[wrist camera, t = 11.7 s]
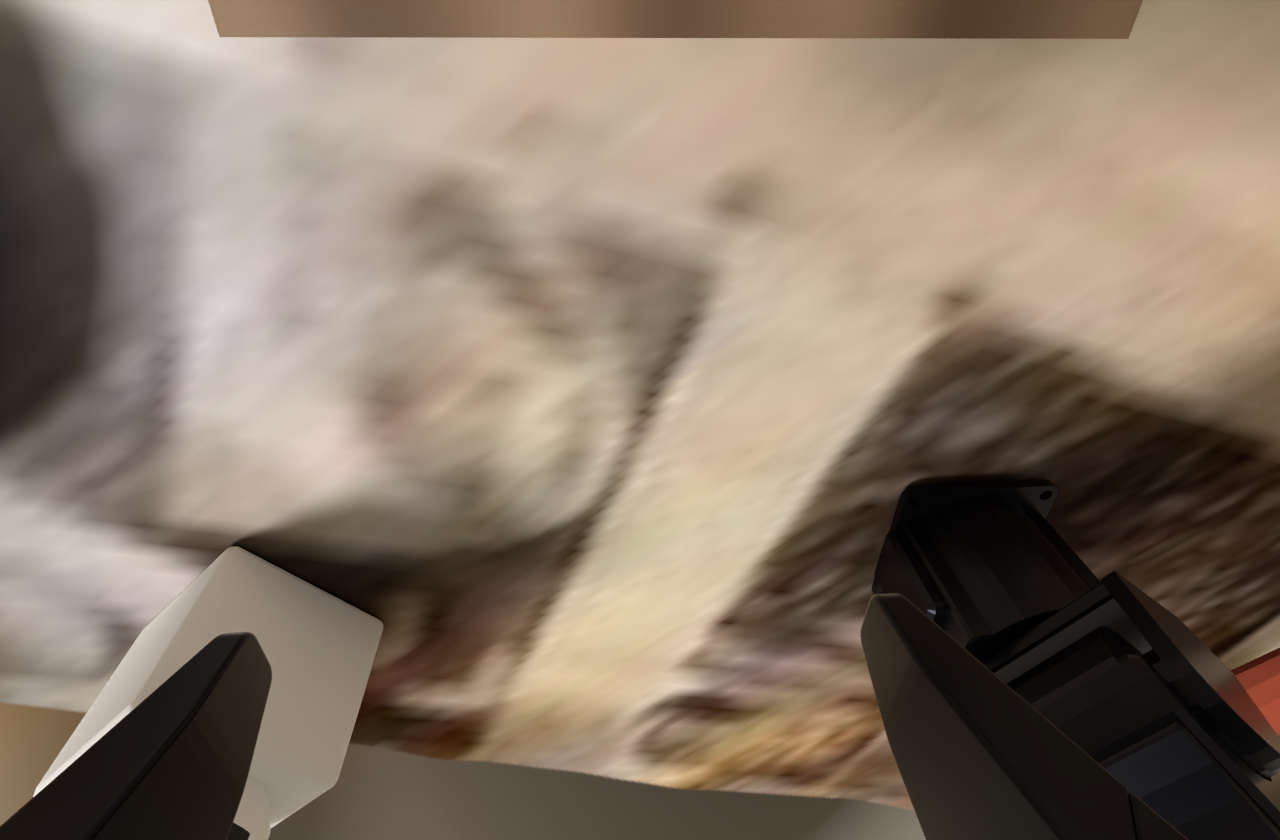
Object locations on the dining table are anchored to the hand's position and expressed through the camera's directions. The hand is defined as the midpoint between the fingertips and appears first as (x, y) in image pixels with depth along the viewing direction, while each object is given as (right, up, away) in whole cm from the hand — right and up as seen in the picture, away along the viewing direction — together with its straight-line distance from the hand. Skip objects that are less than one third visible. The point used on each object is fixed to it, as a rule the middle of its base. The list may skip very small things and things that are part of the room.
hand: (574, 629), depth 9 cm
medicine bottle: (-15, -6, +18) cm, 24 cm away
